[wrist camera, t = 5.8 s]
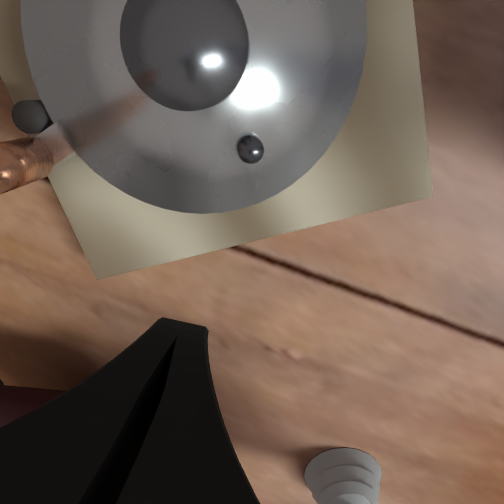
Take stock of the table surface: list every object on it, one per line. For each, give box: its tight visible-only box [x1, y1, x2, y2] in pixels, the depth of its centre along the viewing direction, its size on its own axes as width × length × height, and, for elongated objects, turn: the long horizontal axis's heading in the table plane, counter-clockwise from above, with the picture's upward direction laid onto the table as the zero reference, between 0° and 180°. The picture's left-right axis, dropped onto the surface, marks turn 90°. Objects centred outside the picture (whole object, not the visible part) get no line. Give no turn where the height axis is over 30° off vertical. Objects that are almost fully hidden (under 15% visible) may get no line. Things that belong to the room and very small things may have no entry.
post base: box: [0, 0, 433, 280], centre depth 15 cm, size 16×16×3 cm
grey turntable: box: [0, 0, 367, 214], centre depth 13 cm, size 14×12×4 cm
